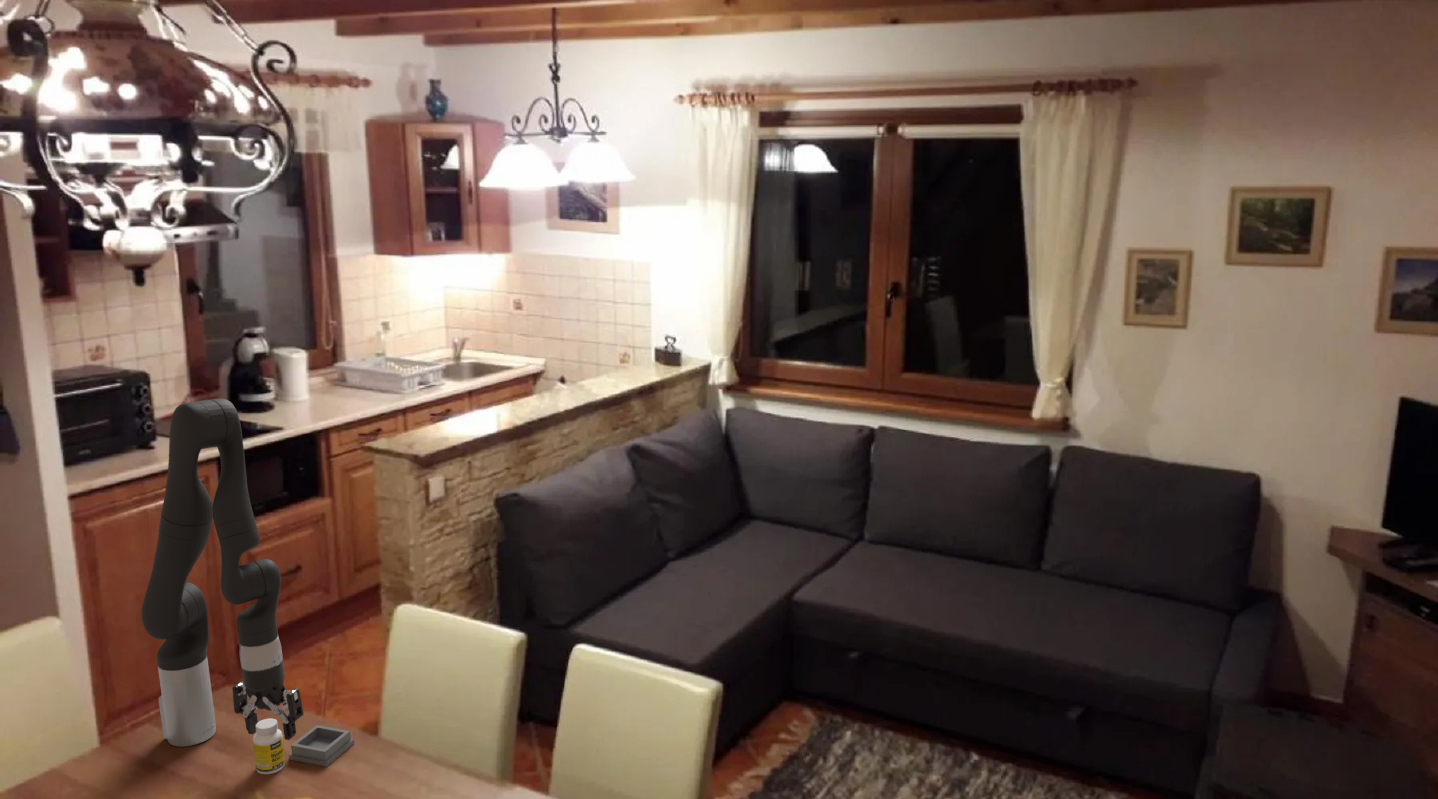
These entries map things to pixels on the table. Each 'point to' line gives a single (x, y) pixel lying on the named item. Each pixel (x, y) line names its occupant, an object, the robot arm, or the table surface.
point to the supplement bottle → (268, 747)
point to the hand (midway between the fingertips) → (271, 735)
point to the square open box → (321, 745)
